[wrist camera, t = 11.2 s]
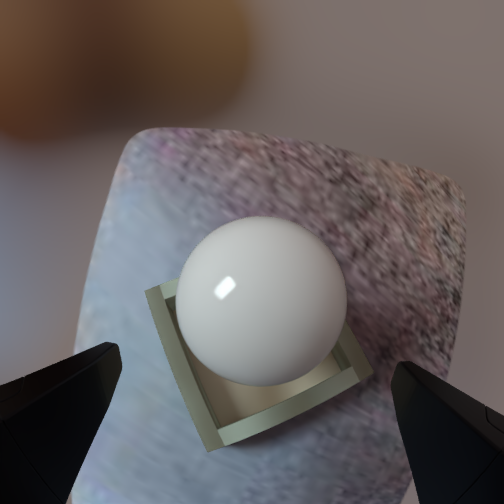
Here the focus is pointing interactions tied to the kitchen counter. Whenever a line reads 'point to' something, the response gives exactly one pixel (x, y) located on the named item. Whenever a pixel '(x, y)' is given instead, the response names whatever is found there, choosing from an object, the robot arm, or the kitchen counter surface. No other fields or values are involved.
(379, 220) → the kitchen counter surface
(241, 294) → the lightbulb
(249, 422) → the open box
